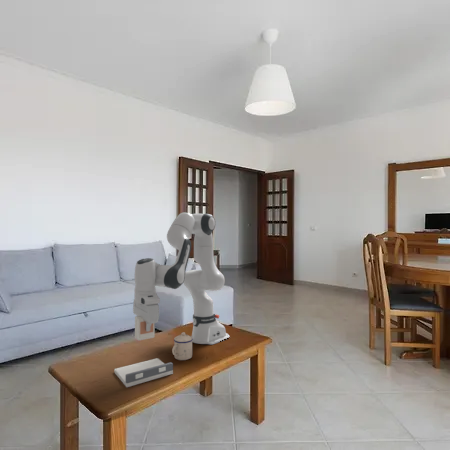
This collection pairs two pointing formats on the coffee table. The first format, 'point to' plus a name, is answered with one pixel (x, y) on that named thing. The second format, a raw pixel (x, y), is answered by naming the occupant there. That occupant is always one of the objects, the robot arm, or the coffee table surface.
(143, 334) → the product carton
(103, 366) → the coffee table surface
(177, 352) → the teacup with lid
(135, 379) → the shelf board
